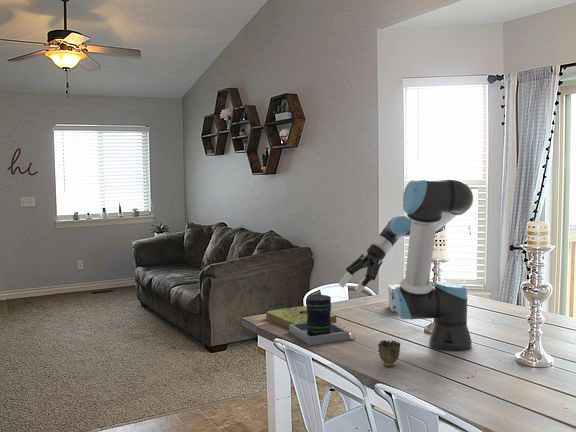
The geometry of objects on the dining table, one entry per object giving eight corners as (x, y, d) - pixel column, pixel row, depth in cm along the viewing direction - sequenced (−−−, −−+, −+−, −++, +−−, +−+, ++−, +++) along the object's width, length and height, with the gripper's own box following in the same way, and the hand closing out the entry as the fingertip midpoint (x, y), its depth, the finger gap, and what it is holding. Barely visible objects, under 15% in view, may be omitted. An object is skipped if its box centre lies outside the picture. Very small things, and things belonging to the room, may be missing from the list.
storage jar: (330, 330, 238) (329, 294, 237) (332, 337, 228) (332, 299, 227) (305, 331, 238) (305, 294, 237) (307, 338, 228) (306, 300, 227)
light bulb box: (406, 312, 269) (406, 288, 268) (391, 312, 269) (391, 289, 268) (402, 306, 279) (402, 284, 278) (388, 306, 279) (387, 284, 278)
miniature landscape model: (305, 312, 273) (305, 301, 272) (336, 323, 253) (336, 312, 252) (265, 319, 261) (265, 308, 260) (295, 331, 241) (294, 320, 241)
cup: (385, 360, 202) (385, 338, 202) (404, 365, 198) (404, 342, 197) (374, 366, 197) (373, 343, 196) (393, 371, 192) (393, 347, 191)
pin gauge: (353, 334, 227) (349, 338, 226) (356, 337, 227) (353, 341, 227) (341, 328, 236) (338, 332, 235) (344, 331, 237) (341, 334, 236)
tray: (349, 339, 227) (349, 331, 227) (309, 345, 221) (309, 337, 221) (326, 326, 246) (326, 319, 246) (289, 331, 239) (289, 324, 239)
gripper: (401, 258, 234) (370, 299, 230) (369, 251, 257) (339, 288, 252) (390, 246, 232) (358, 287, 227) (358, 240, 255) (328, 277, 250)
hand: (348, 288), depth 240 cm, fingers open, 13 cm apart
